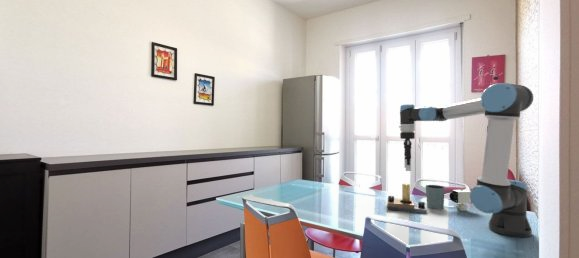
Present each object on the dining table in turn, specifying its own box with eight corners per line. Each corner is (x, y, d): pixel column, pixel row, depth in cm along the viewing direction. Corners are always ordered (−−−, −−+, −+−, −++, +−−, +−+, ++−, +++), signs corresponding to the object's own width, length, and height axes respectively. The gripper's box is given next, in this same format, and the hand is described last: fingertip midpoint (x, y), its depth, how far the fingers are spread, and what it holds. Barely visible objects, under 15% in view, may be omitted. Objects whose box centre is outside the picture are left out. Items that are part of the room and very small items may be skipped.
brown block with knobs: (426, 213, 151) (426, 201, 150) (387, 210, 158) (387, 198, 157) (424, 207, 162) (424, 196, 162) (387, 204, 169) (387, 193, 169)
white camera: (474, 211, 155) (474, 189, 155) (454, 211, 154) (454, 190, 154) (467, 208, 160) (467, 187, 160) (448, 208, 159) (448, 187, 159)
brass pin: (410, 210, 157) (410, 185, 157) (402, 209, 158) (402, 184, 158) (409, 208, 161) (409, 183, 161) (402, 207, 162) (402, 183, 162)
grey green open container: (433, 210, 157) (433, 188, 157) (421, 205, 167) (421, 185, 167) (449, 208, 160) (449, 187, 160) (435, 203, 170) (435, 184, 169)
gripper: (399, 131, 172) (399, 166, 172) (401, 132, 149) (401, 172, 149) (413, 131, 169) (413, 166, 169) (416, 132, 146) (416, 172, 146)
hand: (407, 169), depth 159 cm, fingers open, 13 cm apart
